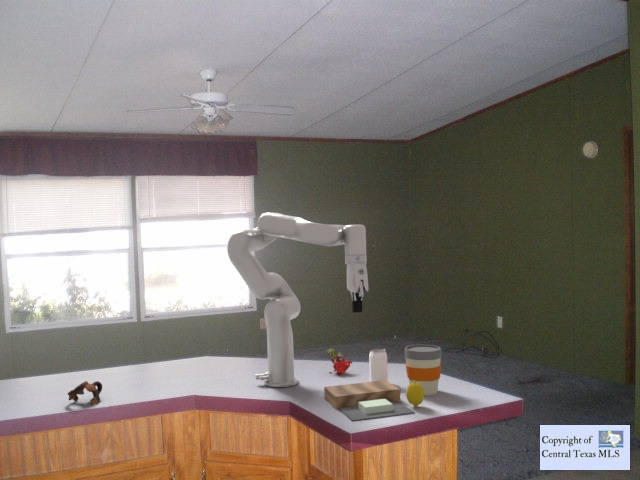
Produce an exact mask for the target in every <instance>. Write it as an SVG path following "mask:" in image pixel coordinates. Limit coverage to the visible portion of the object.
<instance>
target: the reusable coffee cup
mask: <svg viewBox="0 0 640 480" xmlns="http://www.w3.org/2000/svg"><path fill="white" fill-rule="evenodd" d="M442 356H443V354H442V348H441V347H440V346H438V345H434V344H411V345H407V346H405V348H404V357H405V362H406V363H405V370H406V376H407V379H408V381H409V382H408V383H409V385H410V384H411V383H413V382H417V383H419V384H420V385H421V386H422V387H423V390H424V397H425V396H427V397H428V396H434V395H436V394H438V388H439V380H440V378H441V371H442V364H441V358H442Z"/></svg>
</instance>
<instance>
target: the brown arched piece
mask: <svg viewBox="0 0 640 480" xmlns="http://www.w3.org/2000/svg"><path fill="white" fill-rule="evenodd" d="M96 387H97V388H96ZM85 389H86V391H88V392H90V393H92V396H93V397H92V398H90V400H89V401H90V402H91V404H92V405H93V404H95V405H96V404H98V403H99V402H101V397H100V394H101V392H102V390H103V384H102V383H101V382H100V381H98V380H97V381H94V382H92V383H89V382H88V381H87V380H85V381H84V382H82V383H80V384H79V385H78V386H76V387H74V389H72V390H70V391H68V393H67V396H68V401H72V400H73V402H75V401H76V402H78V400H79V397H78V395H80V396H81V395H82V396H83V395H85V392H84V390H85Z"/></svg>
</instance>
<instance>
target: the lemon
mask: <svg viewBox="0 0 640 480" xmlns="http://www.w3.org/2000/svg"><path fill="white" fill-rule="evenodd" d="M405 396H406V400H407V402H408V403H409V404H410V405H412V406H413V407H414V408H417V407H418V406H419V405H421V404H422V403H423V402H424V399H425V396H424V390H423V387H422V386H421V385H420V384H419V383H417V382H413V383H411V384H410V383H409V384H408V386H407V388H406V394H405Z"/></svg>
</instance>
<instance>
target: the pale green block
mask: <svg viewBox="0 0 640 480" xmlns="http://www.w3.org/2000/svg"><path fill="white" fill-rule="evenodd" d="M358 408H359V409H360V410H361V411H362V412H364V413H365V414H370V413H378V412H386V411H393V404H392V403H390V402H389V401H388V400H386V399H379V400H370V401H362V402H358Z"/></svg>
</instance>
